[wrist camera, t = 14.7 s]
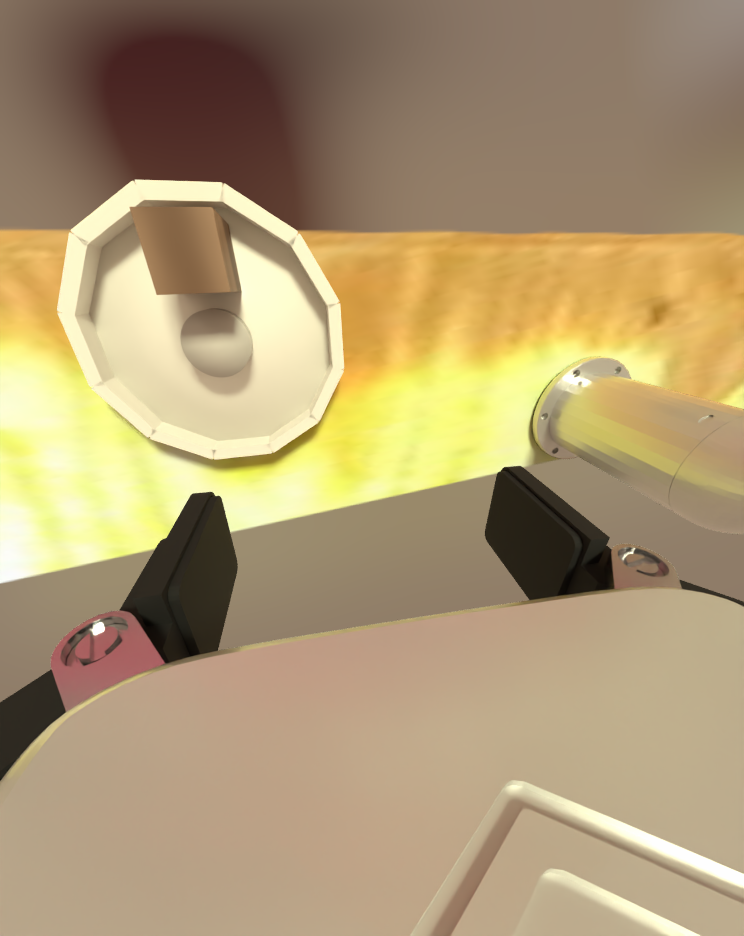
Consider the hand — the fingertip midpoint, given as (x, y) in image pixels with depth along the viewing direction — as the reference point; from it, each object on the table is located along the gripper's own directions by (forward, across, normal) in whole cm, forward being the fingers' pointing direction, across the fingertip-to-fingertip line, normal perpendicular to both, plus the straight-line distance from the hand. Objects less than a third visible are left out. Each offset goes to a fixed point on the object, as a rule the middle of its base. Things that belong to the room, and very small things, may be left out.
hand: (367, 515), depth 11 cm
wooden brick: (+22, +9, -9) cm, 26 cm away
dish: (+23, +9, -3) cm, 25 cm away
